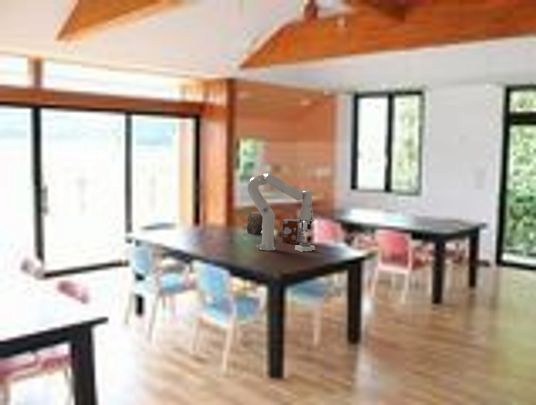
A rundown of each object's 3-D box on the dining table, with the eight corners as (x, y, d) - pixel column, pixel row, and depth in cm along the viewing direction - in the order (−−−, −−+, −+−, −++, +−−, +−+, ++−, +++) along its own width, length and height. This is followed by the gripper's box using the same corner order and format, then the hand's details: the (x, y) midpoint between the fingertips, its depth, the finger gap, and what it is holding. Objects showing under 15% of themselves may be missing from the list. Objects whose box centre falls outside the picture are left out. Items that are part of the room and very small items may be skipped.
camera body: (301, 251, 444) (301, 244, 444) (294, 249, 452) (295, 243, 451) (314, 250, 451) (314, 243, 451) (307, 248, 459) (308, 241, 458)
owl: (245, 232, 529) (246, 211, 527) (256, 231, 537) (256, 211, 535) (253, 234, 519) (254, 213, 517) (264, 233, 527) (265, 212, 525)
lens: (305, 232, 447) (305, 220, 446) (301, 231, 451) (301, 219, 450) (310, 231, 449) (310, 220, 448) (306, 230, 454) (306, 219, 453)
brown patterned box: (303, 244, 479) (304, 220, 477) (281, 242, 483) (281, 219, 481) (304, 242, 488) (305, 219, 486) (282, 240, 492) (283, 218, 490)
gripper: (318, 206, 446) (317, 229, 448) (300, 204, 456) (299, 227, 458) (313, 207, 440) (312, 230, 442) (295, 205, 450) (294, 228, 452)
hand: (305, 228), depth 450 cm, fingers closed on lens, 5 cm apart
